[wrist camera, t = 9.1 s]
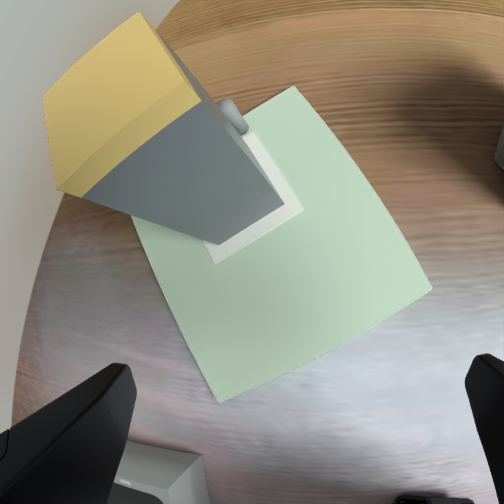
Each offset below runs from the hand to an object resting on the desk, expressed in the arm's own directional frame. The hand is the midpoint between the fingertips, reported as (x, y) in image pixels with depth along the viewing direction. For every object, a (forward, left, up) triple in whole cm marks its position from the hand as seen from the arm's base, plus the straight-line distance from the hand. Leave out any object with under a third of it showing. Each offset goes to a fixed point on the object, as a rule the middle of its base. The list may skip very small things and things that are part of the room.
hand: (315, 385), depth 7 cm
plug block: (+6, +8, -10) cm, 14 cm away
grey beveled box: (-20, +7, -11) cm, 24 cm away
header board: (+4, +5, -11) cm, 13 cm away
